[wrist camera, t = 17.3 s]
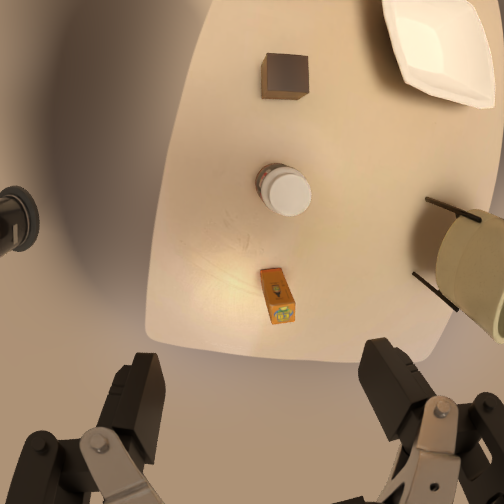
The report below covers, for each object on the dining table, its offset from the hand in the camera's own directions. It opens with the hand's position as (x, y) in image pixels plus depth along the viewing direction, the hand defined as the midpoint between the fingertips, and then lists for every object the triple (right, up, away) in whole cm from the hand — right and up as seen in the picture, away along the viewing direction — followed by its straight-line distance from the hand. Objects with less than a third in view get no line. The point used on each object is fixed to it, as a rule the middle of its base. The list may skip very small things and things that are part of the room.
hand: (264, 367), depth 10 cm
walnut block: (+3, +27, +24) cm, 37 cm away
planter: (+33, +7, +35) cm, 49 cm away
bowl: (+27, +39, +22) cm, 52 cm away
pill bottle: (+3, +14, +30) cm, 33 cm away
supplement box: (+3, 0, +35) cm, 35 cm away
